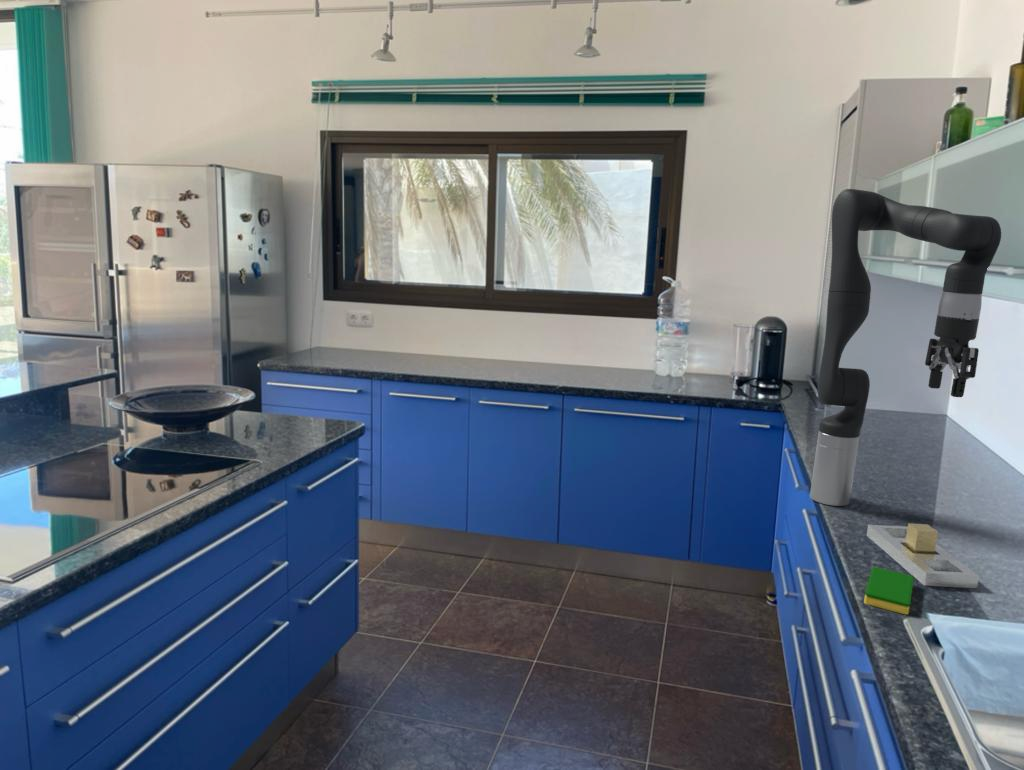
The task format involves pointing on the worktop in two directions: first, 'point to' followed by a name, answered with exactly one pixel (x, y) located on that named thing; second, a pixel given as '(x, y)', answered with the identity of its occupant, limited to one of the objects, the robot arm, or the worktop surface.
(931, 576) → the rail plate
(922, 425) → the worktop surface
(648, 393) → the worktop surface
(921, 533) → the brass peg
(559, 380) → the worktop surface
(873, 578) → the dish sponge
